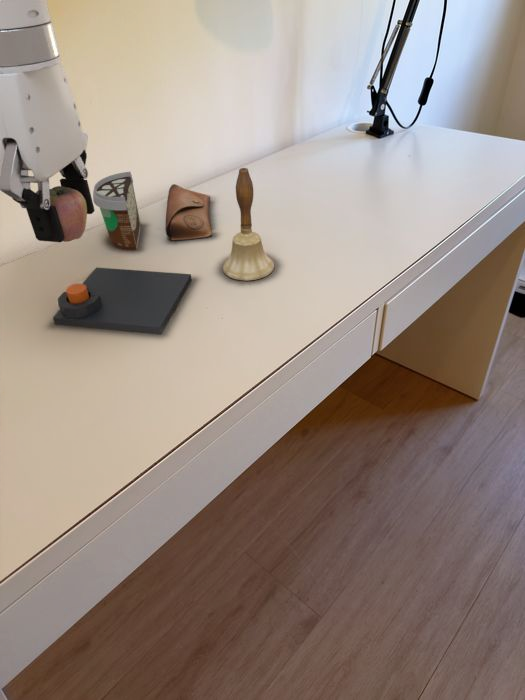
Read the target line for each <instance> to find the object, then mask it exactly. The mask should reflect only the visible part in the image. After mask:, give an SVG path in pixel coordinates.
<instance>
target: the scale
mask: <svg viewBox="0 0 525 700" xmlns="http://www.w3.org/2000/svg"><path fill="white" fill-rule="evenodd" d="M192 281H193V280H192V274H191V273H180V272H166V271H153V270H152V271H151V270H139V269H122V268H109V267H108V268H107V267H95V268H94V269H93V271H91V272H90V274H89V275H88V276H87V277H86V278H85V280H84V281H83V282H81V284H84V285H86V288H87V291H88V294H89V299H88V300H86V301H84V302H82V303H77V304H73V303H70V302H69V299H68V296H67V293H66V290H65V291H63V292H62V293H61V294H60V295H59V297H58V298H57V305H58V308H59V310H58V311H57V312H56V313H55V314H54V315H53V316H52V320H53V322H54V324H55V325H57V326H58V325H59V326H69V327H70V326H71V327H81V328H89V329H90V328H91V329H100V330H110V331H111V330H112V331H122V332H131V333H143V334H153V335H154V334H155V335H162V334H163V332H164V330H165V328H166V326H167V325H168V323H169V322H170V319H172V316H173V314H174V313H175V311H176V309H177V307H178V305H180V302H181V301H182V298H183V297H184V295H185V294H186V291H187V290H188V288H189V286H190V285H191V283H192Z"/></svg>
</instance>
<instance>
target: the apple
mask: <svg viewBox="0 0 525 700" xmlns="http://www.w3.org/2000/svg"><path fill="white" fill-rule="evenodd" d="M49 189H50V206H55V207H56V210H57V213H58V216H59V220H60V223H61V226H62V230H63V233H64V237H65V239H64V240H63V241H62V242H65V243H68V242H72V241H74V240H79V239H81V237H83V235H84V233H85V231H86V228H87V227H86V226H87V219H88V214H87V205H86V201H85V198H84V197H83V195H82V194H81V193H80V192H78V191H77V190H74V189H71V188H67V187H63V186H61V185H57V186H54V187H51V188H49ZM35 193H36V194H38V190H37V191H36V192H35Z"/></svg>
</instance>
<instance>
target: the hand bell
mask: <svg viewBox="0 0 525 700" xmlns="http://www.w3.org/2000/svg"><path fill="white" fill-rule="evenodd" d="M235 197H236V202H237V205H238V208H239V212H240V232H238V233H236V234H234V235H233V236H232V242H231V243H232V244H231V251H230V255H229V257H228V258H227V259H226V260H225V261H224V263H223V266H222V271H223V273H224V275H225V276H227V277H229V278H231V279H233V280H238V281H246V282H247V281H256V280H260V279H263V278H265V277H267V276H269V275H270V274H272V272H273V271H274V269H275V263H274V261H273V259H272V258H270V256H268V255H267V254H266V252H265V250H264V247H263V241H262V237H261V235H260V234H259V233H258V232H255V231H253V230H252V228H253V227H252V226H253V224H252V213H251V212H252V206H253V202H254V185H253V181H252V177H251V175H250V171H249V169H248V168H247V167H241V168H239V169H238V175H237V177H236V183H235Z"/></svg>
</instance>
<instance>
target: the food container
mask: <svg viewBox="0 0 525 700" xmlns="http://www.w3.org/2000/svg"><path fill="white" fill-rule="evenodd" d="M92 202H93V204H94V205H95V206H96V207H98V208H99V211H100V213H101V216H102V220H103V222H104V225H105V229H106V231H107V234H108V237H109V240H110V243H111V245H112V246H113V247H114V248H116V249H119V250H124V251H137V250H138V246H139V240H140V234H141V229H142V225H141V219H140V214H139V209H138V204H137V198H136V194H135V186H134V180H133V175H132V171H124V172H119V173H115V174H111V175H107V176H106V177H104V178H101V179H100V180H98V181H97V182H96V183H95V184H94V186H93V190H92Z"/></svg>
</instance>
